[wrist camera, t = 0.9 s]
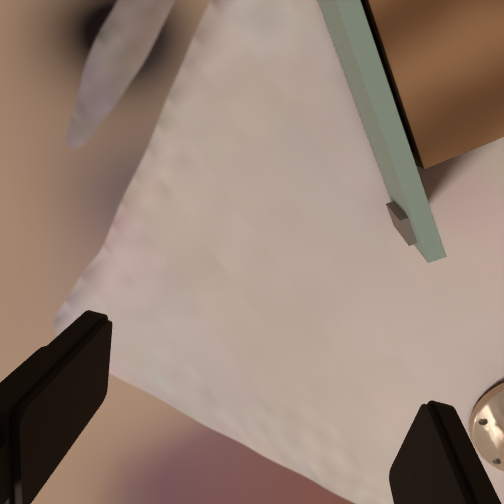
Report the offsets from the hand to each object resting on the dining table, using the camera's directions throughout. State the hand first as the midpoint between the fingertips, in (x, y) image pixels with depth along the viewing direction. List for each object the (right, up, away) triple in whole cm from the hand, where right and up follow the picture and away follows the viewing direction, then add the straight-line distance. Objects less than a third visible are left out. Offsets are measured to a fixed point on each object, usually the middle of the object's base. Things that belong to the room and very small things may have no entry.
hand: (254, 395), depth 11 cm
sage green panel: (+8, +16, +19) cm, 26 cm away
